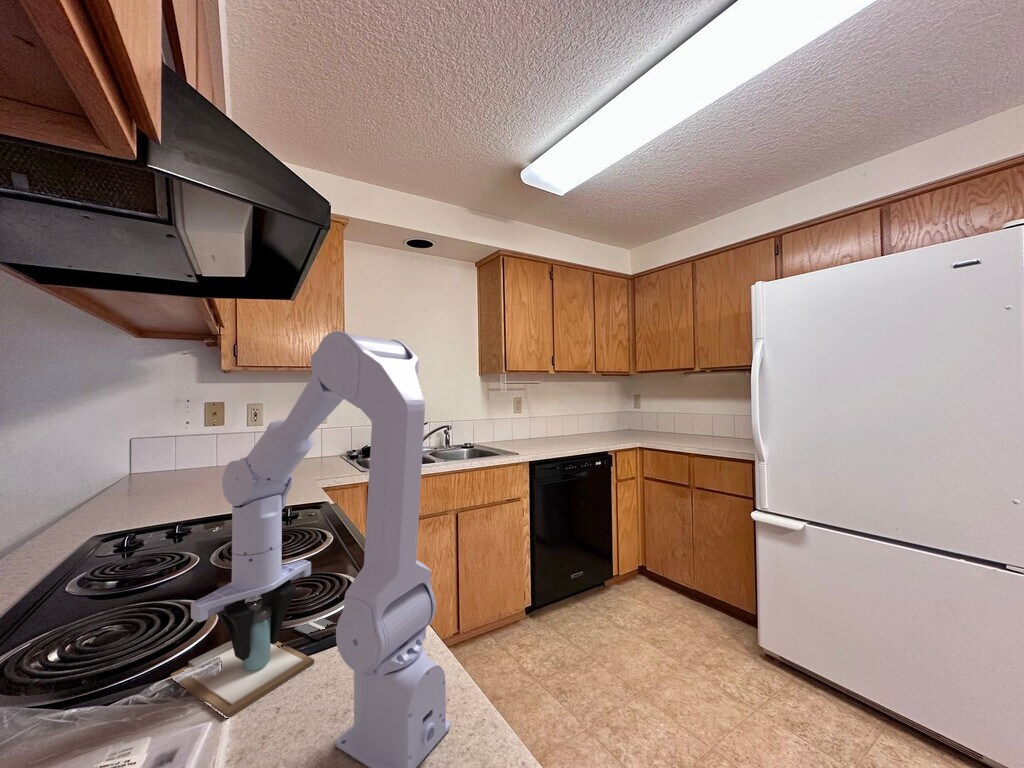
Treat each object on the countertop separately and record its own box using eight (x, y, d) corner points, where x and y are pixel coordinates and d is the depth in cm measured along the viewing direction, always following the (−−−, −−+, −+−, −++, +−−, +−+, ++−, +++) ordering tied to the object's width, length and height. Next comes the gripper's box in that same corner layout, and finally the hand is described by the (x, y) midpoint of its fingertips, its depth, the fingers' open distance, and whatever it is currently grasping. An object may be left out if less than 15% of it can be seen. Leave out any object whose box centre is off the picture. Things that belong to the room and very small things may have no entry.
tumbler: (276, 659, 55) (276, 607, 56) (250, 674, 52) (250, 619, 53) (262, 651, 57) (262, 600, 57) (236, 665, 54) (236, 612, 54)
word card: (341, 628, 65) (341, 625, 65) (318, 641, 61) (318, 638, 61) (317, 618, 68) (317, 615, 68) (294, 630, 64) (294, 627, 64)
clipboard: (314, 663, 56) (314, 655, 56) (226, 719, 47) (226, 709, 47) (256, 635, 63) (256, 627, 63) (170, 678, 54) (170, 670, 54)
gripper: (291, 527, 63) (290, 615, 63) (179, 561, 51) (178, 671, 50) (320, 534, 60) (319, 627, 60) (208, 572, 47) (207, 691, 47)
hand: (256, 648), depth 55 cm, fingers closed on tumbler, 3 cm apart
